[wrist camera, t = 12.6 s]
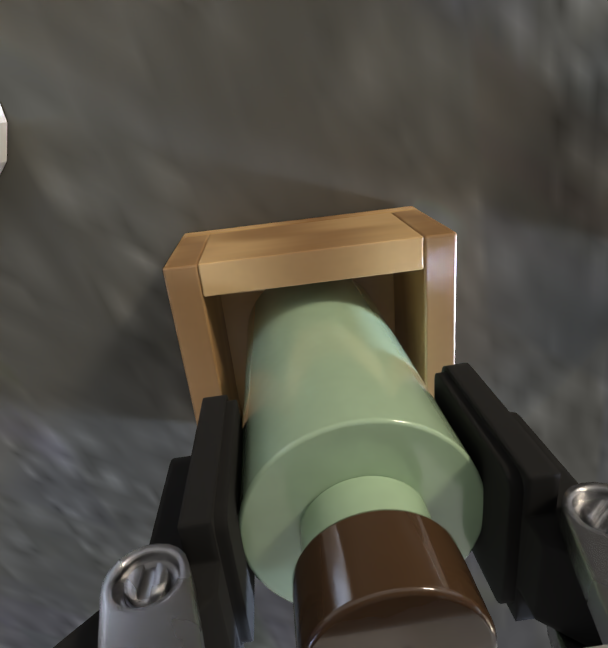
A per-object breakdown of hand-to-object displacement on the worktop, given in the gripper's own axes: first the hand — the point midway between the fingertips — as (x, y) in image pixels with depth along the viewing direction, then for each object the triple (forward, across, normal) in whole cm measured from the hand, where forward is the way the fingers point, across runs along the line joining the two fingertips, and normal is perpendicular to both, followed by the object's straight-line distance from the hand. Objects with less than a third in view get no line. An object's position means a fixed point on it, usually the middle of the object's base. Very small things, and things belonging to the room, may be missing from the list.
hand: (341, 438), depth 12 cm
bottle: (+6, 0, 0) cm, 6 cm away
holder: (+7, 0, 0) cm, 7 cm away
